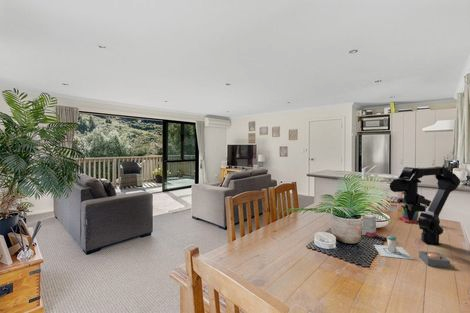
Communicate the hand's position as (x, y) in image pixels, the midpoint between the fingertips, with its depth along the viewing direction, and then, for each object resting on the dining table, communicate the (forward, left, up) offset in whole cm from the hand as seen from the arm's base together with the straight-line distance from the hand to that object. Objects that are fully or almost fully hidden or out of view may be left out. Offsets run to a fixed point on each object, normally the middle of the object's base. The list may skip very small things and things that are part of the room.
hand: (410, 220), depth 123 cm
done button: (-2, +19, -12) cm, 23 cm away
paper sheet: (+12, +12, -13) cm, 21 cm away
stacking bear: (-17, -45, -13) cm, 50 cm away
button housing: (-2, +19, -13) cm, 23 cm away
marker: (+12, +12, -13) cm, 21 cm away
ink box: (+18, -10, -13) cm, 25 cm away
